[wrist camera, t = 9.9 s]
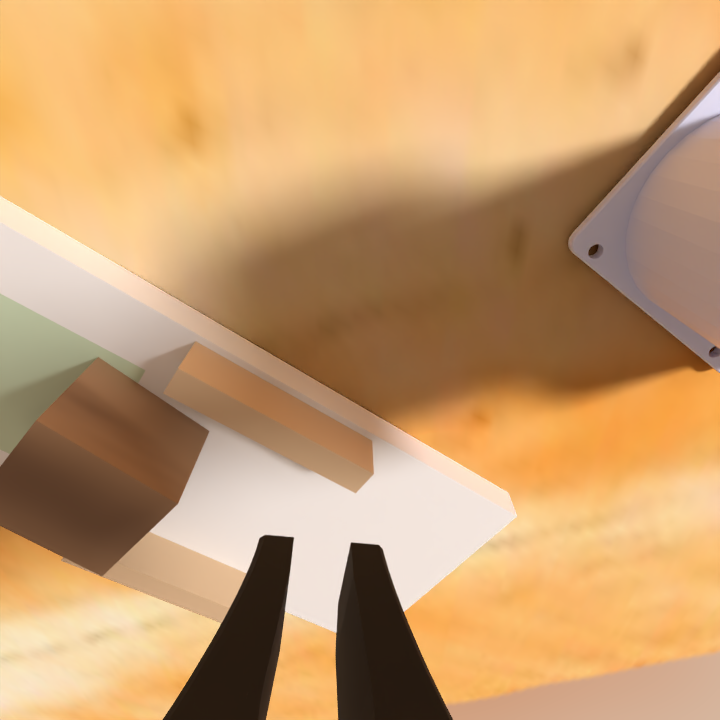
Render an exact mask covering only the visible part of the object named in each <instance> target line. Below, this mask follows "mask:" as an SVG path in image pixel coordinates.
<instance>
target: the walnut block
mask: <svg viewBox="0 0 720 720" xmlns="http://www.w3.org/2000/svg"><path fill="white" fill-rule="evenodd" d="M208 434H209V430H207V429H206V428H204V427H203V426H201V425H200V424H198V423H197V422H195V421H194V420H192V419H191V418H189V417H188V416H186V415H185V414H183V413H182V412H180V411H179V410H177V409H176V408H174V407H173V406H171V405H170V404H168V403H167V402H165V401H164V400H162V399H161V398H159V397H158V396H156V395H155V394H153V393H152V392H150V391H149V390H147V389H146V388H144V387H143V386H141V385H140V384H138V383H137V382H135V381H134V380H132V379H131V378H129V377H128V376H126V375H125V374H123V373H122V372H120V371H119V370H117V369H116V368H114V367H113V366H111V365H110V364H108V363H107V362H105V361H104V360H102V359H101V358H99V357H98V358H97V359H96V360H95V361H94V362H93V363H92V364H91V365H90V366H89V367H88V368H87V369H86V370H85V371H84V372H83V373H82V374H81V375H80V376H79V377H78V378H77V379H76V380H75V381H74V382H73V383H72V384H71V385H70V386H69V387H68V388H67V389H66V390H65V391H64V392H63V393H62V394H61V395H60V396H59V397H58V398H57V399H56V400H55V401H54V402H53V404H52V405H51V406H50V407H49V408H48V409H47V410H46V411H45V412H44V413H43V414H42V415H41V416H40V417H39V418H38V419H37V420H36V421H35V422H34V424H33V425H32V426H31V427H30V429H29V430H28V431H27V433H26V434H25V435H24V436H23V438H22V439H21V440H20V442H19V443H18V444H17V445H16V447H15V448H14V449H13V451H12V452H11V453H10V455H9V456H8V457H7V458H6V460H5V461H4V462H3V464H2V465H1V466H0V526H2V527H4V528H6V529H8V530H10V531H12V532H14V533H16V534H18V535H20V536H22V537H24V538H26V539H28V540H30V541H32V542H34V543H36V544H38V545H40V546H42V547H44V548H46V549H48V550H50V551H52V552H54V553H56V554H58V555H60V556H62V557H64V558H66V559H68V560H70V561H72V562H74V563H76V564H78V565H80V566H82V567H84V568H86V569H88V570H90V571H92V572H94V573H96V574H98V575H100V576H103V575H104V574H105V573H106V572H107V571H108V570H109V569H111V568H112V567H113V566H114V565H115V564H116V563H117V562H118V561H119V560H120V559H121V558H122V557H123V556H124V555H125V554H126V553H127V552H128V551H129V550H130V549H131V548H133V547H134V546H135V545H136V544H137V543H138V542H139V541H140V540H141V539H142V538H143V537H144V536H145V535H146V534H147V533H148V532H149V531H150V530H151V529H152V528H153V527H155V526H156V525H157V524H158V523H159V522H160V521H161V520H162V519H163V518H164V517H165V516H166V515H167V514H168V513H169V512H170V511H171V510H172V509H173V508H174V507H175V506H176V505H178V503H179V501H180V498H181V496H182V494H183V491H184V489H185V487H186V484H187V482H188V480H189V478H190V475H191V473H192V471H193V468H194V466H195V464H196V461H197V459H198V457H199V454H200V452H201V450H202V448H203V445H204V443H205V441H206V438H207V436H208Z"/></svg>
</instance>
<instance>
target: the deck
mask: <svg viewBox="0 0 720 720" xmlns="http://www.w3.org/2000/svg"><path fill="white" fill-rule="evenodd" d="M98 357H99V358H101V359H102V360H104V361H105V362H107V363H108V364H110V365H111V366H113V367H114V368H116V369H117V370H119V371H120V372H122V373H123V374H125V375H126V376H128V377H129V378H131V379H132V380H134V381H135V382H137V383H138V384H140V385H141V386H143V387H144V388H146V389H147V390H149V391H150V392H152V393H153V394H155V395H156V396H158V397H159V398H161V399H162V400H164V401H165V402H167V403H168V404H170V405H171V406H173V407H174V408H176V409H177V410H179V411H180V412H182V413H183V414H185V415H186V416H188V417H189V418H191V419H192V420H194V421H195V422H197V423H198V424H200V425H201V426H203V427H204V428H206V429H207V430H209V434H208V436H207V438H206V441H205V443H204V445H203V448H202V450H201V452H200V454H199V457H198V459H197V461H196V464H195V466H194V468H193V471H192V473H191V475H190V478H189V480H188V482H187V484H186V487H185V489H184V491H183V494H182V496H181V498H180V501H179V503H178V505H176V506H175V507H174V508H173V509H172V510H171V511H170V512H169V513H168V514H167V515H166V516H165V517H164V518H163V519H162V520H161V521H160V522H159V523H158V524H157V525H156V526H155V527H153V528H152V529H151V530H150V531H149V532H148V533H147V534H146V535H145V536H144V537H143V538H142V539H141V540H140V541H139V542H138V543H137V544H136V545H135V546H134V547H133V548H131V549H130V550H129V551H128V552H127V553H126V554H125V555H124V556H123V557H122V558H121V559H120V560H119V561H118V562H117V563H116V564H115V565H114V566H113V567H112V568H111V569H109V570H108V571H107V572H106V573H105V574H104V575H103V576H102V577H104V578H107V579H109V580H112V581H115V582H117V583H120V584H122V585H125V586H127V587H130V588H133V589H135V590H138V591H140V592H143V593H145V594H148V595H151V596H153V597H156V598H158V599H161V600H163V601H166V602H169V603H171V604H174V605H176V606H179V607H181V608H184V609H187V610H189V611H192V612H194V613H197V614H199V615H202V616H205V617H207V618H210V619H212V620H215V621H217V622H220V623H222V622H223V620H224V618H225V616H226V614H227V612H228V610H229V608H230V606H231V605H232V603H233V601H234V599H235V597H236V595H237V593H238V591H239V589H240V586H241V584H242V582H243V580H244V578H245V576H246V573H247V571H248V569H249V567H250V564H251V562H252V559H253V556H254V554H255V551H256V548H257V545H258V541H259V538H260V537H262V536H264V535H275V536H286V537H294V542H293V551H292V560H291V569H290V576H289V584H288V592H287V599H286V607H285V612H287V613H290V614H292V615H294V616H297V617H299V618H302V619H304V620H307V621H309V622H311V623H314V624H316V625H319V626H321V627H323V628H326V629H328V630H331V631H333V632H336V633H337V613H338V601H339V596H340V591H341V587H342V582H343V577H344V572H345V568H346V563H347V558H348V554H349V549H350V544H351V542H353V543H365V544H376V545H380V547H381V548H382V549H383V552H384V555H385V559H386V562H387V566H388V569H389V572H390V575H391V578H392V581H393V584H394V587H395V590H396V593H397V595H398V598H399V601H400V603H401V606H402V609H403V611H406V610H407V609H408V608H409V607H410V606H411V605H413V604H414V603H415V602H416V601H417V600H419V599H420V598H421V597H422V596H423V595H424V594H426V593H427V592H428V591H429V590H430V589H432V588H433V587H434V586H435V585H436V584H438V583H439V582H440V581H441V580H442V579H443V578H445V577H446V576H447V575H448V574H449V573H451V572H452V571H453V570H454V569H455V568H457V567H458V566H459V565H460V564H461V563H462V562H464V561H465V560H466V559H467V558H468V557H470V556H471V555H472V554H473V553H474V552H475V551H477V550H478V549H479V548H480V547H481V546H483V545H484V544H485V543H486V542H487V541H489V540H490V539H491V538H492V537H493V536H494V535H496V534H497V533H498V532H499V531H500V530H502V529H503V528H504V527H505V526H506V525H508V524H509V523H510V522H511V521H512V520H513V519H515V518H516V517H517V514H516V511H515V509H514V506H513V503H512V501H511V498H510V496H509V493H508V492H507V491H505V490H503V489H501V488H500V487H498V486H496V485H495V484H493V483H491V482H489V481H488V480H486V479H484V478H483V477H481V476H479V475H477V474H476V473H474V472H472V471H471V470H469V469H467V468H465V467H464V466H462V465H460V464H459V463H457V462H455V461H453V460H452V459H450V458H448V457H447V456H445V455H443V454H441V453H440V452H438V451H436V450H435V449H433V448H431V447H429V446H428V445H426V444H424V443H423V442H421V441H419V440H417V439H416V438H414V437H412V436H411V435H409V434H407V433H405V432H404V431H402V430H400V429H399V428H397V427H395V426H393V425H392V424H390V423H388V422H387V421H385V420H383V419H382V418H380V417H378V416H376V415H375V414H373V413H371V412H370V411H368V410H366V409H364V408H363V407H361V406H359V405H358V404H356V403H354V402H352V401H351V400H349V399H347V398H346V397H344V396H342V395H340V394H339V393H337V392H335V391H334V390H332V389H330V388H328V387H327V386H325V385H323V384H322V383H320V382H318V381H316V380H315V379H313V378H311V377H310V376H308V375H306V374H304V373H303V372H301V371H299V370H298V369H296V368H294V367H292V366H291V365H289V364H287V363H286V362H284V361H282V360H280V359H279V358H277V357H275V356H274V355H272V354H270V353H268V352H267V351H265V350H263V349H262V348H260V347H258V346H256V345H255V344H253V343H251V342H250V341H248V340H246V339H244V338H243V337H241V336H239V335H238V334H236V333H234V332H232V331H231V330H229V329H227V328H226V327H224V326H222V325H221V324H219V323H217V322H215V321H214V320H212V319H210V318H209V317H207V316H205V315H203V314H202V313H200V312H198V311H197V310H195V309H193V308H191V307H190V306H188V305H186V304H185V303H183V302H181V301H179V300H178V299H176V298H174V297H173V296H171V295H169V294H167V293H166V292H164V291H162V290H161V289H159V288H157V287H155V286H154V285H152V284H150V283H149V282H147V281H145V280H143V279H142V278H140V277H138V276H137V275H135V274H133V273H131V272H130V271H128V270H126V269H125V268H123V267H121V266H119V265H118V264H116V263H114V262H113V261H111V260H109V259H107V258H106V257H104V256H102V255H101V254H99V253H97V252H95V251H94V250H92V249H90V248H89V247H87V246H85V245H83V244H82V243H80V242H78V241H77V240H75V239H73V238H71V237H70V236H68V235H66V234H65V233H63V232H61V231H59V230H58V229H56V228H54V227H53V226H51V225H49V224H48V223H46V222H44V221H42V220H41V219H39V218H37V217H36V216H34V215H32V214H30V213H29V212H27V211H25V210H24V209H22V208H20V207H18V206H17V205H15V204H13V203H12V202H10V201H8V200H6V199H5V198H3V197H1V196H0V466H1V465H2V464H3V462H4V461H5V460H6V458H7V457H8V456H9V455H10V453H11V452H12V451H13V449H14V448H15V447H16V445H17V444H18V443H19V442H20V440H21V439H22V438H23V436H24V435H25V434H26V433H27V431H28V430H29V429H30V427H31V426H32V425H33V424H34V422H35V421H36V420H37V419H38V418H39V417H40V416H41V415H42V414H43V413H44V412H45V411H46V410H47V409H48V408H49V407H50V406H51V405H52V404H53V402H54V401H55V400H56V399H57V398H58V397H59V396H60V395H61V394H62V393H63V392H64V391H65V390H66V389H67V388H68V387H69V386H70V385H71V384H72V383H73V382H74V381H75V380H76V379H77V378H78V377H79V376H80V375H81V374H82V373H83V372H84V371H85V370H86V369H87V368H88V367H89V366H90V365H91V364H92V363H93V362H94V361H95V360H96V359H97V358H98ZM61 561H63V562H66V563H68V564H71V565H73V566H76V567H79V568H81V569H84V570H86V571H89V572H91V573H94V572H92V571H90V570H88V569H86V568H84V567H82V566H80V565H78V564H76V563H74V562H72V561H70V560H68V559H66V558H64V557H63V559H62V560H61ZM94 574H96V573H94ZM97 575H98V574H97ZM99 576H100V575H99Z"/></svg>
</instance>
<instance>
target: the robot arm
mask: <svg viewBox="0 0 720 720" xmlns="http://www.w3.org/2000/svg"><path fill="white" fill-rule="evenodd" d="M596 244H598V245H599V246H598V250H597V252H596V253H595V254H593V255H590V256H589V255H588V251H589V249H590V248H591V247H592V246H593V245H596ZM568 246H569V249H570V251H571V252H572V253H573V254H575V255H576V256H577V257H578V258H579V259H581V260H582V261H583V262H584V263H586V264H587V265H588V266H589V267H590V268H592V269H593V270H594V271H595V272H597V273H598V274H599V275H600V276H601V277H603V278H604V279H605V280H606V281H608V282H609V283H610V284H611V285H612V286H614V287H615V288H616V289H617V290H619V291H620V292H621V293H622V294H623V295H625V296H626V297H627V298H628V299H629V300H631V301H632V302H633V303H634V304H636V305H637V306H638V307H639V308H640V309H642V310H643V311H644V312H645V313H647V314H648V315H649V316H650V317H651V318H653V319H654V320H655V321H656V322H658V323H659V324H660V325H661V326H662V327H664V328H665V329H666V330H667V331H669V332H670V333H671V334H672V335H673V336H675V337H676V338H677V339H678V340H680V341H681V342H682V343H683V344H684V345H686V346H687V347H688V348H689V349H691V350H692V351H693V352H694V353H695V354H697V355H698V356H699V357H700V358H702V359H703V360H704V361H705V362H706V363H708V364H709V365H710V366H711V367H712V368H714V369H715V370H716V371H718V372H719V373H720V72H719V73H718V74H717V75H716V76H715V77H714V78H713V79H712V80H711V82H710V83H709V84H708V85H707V86H706V87H705V88H704V89H703V90H702V91H701V92H700V94H699V95H698V96H697V97H696V98H695V99H694V100H693V101H692V102H691V103H690V105H689V106H688V107H687V108H686V109H685V110H684V111H683V112H682V113H681V114H680V116H679V117H678V118H677V119H676V120H675V121H674V122H673V123H672V124H671V125H670V126H669V128H668V129H667V130H666V131H665V132H664V133H663V134H662V135H661V136H660V137H659V139H658V140H657V141H656V142H655V143H654V144H653V145H652V146H651V147H650V148H649V150H648V151H647V152H646V153H645V154H644V155H643V156H642V157H641V158H640V159H639V160H638V162H637V163H636V164H635V165H634V166H633V167H632V168H631V169H630V170H629V171H628V173H627V174H626V175H625V176H624V177H623V178H622V179H621V180H620V181H619V182H618V184H617V185H616V186H615V187H614V188H613V189H612V190H611V191H610V192H609V193H608V194H607V196H606V197H605V198H604V199H603V200H602V201H601V202H600V203H599V204H598V205H597V207H596V208H595V209H594V210H593V211H592V212H591V213H590V214H589V215H588V216H587V218H586V219H585V220H584V221H583V222H582V223H581V224H580V225H579V226H578V227H577V228H576V230H575V231H574V232H573V233H572V234H571V236H570V237H569V241H568ZM715 346H716V348H715V349H714V350H713V351H712V352H710V353H709V351H710V350H711V348H713V347H715ZM293 542H294V537H286V536H275V535H264V536H262V537H260V538H259V541H258V545H257V548H256V551H255V554H254V556H253V559H252V562H251V564H250V567H249V569H248V571H247V573H246V576H245V578H244V580H243V582H242V584H241V586H240V589H239V591H238V593H237V595H236V597H235V599H234V601H233V603H232V605H231V606H230V608H229V610H228V612H227V614H226V616H225V618H224V620H223V622H222V623H221V625H220V627H219V629H218V631H217V633H216V635H215V636H214V638H213V640H212V642H211V643H210V645H209V647H208V648H207V650H206V652H205V653H204V655H203V657H202V658H201V660H200V662H199V663H198V665H197V667H196V668H195V670H194V672H193V673H192V675H191V677H190V678H189V680H188V682H187V683H186V685H185V686H184V688H183V689H182V691H181V693H180V694H179V696H178V697H177V699H176V700H175V702H174V703H173V705H172V707H171V708H170V710H169V711H168V713H167V714H166V716H165V717H164V719H163V720H266V716H267V711H268V706H269V701H270V696H271V691H272V686H273V681H274V676H275V671H276V667H277V662H278V657H279V652H280V644H281V637H282V629H283V622H284V614H285V607H286V599H287V592H288V584H289V576H290V569H291V560H292V551H293ZM336 677H337V700H338V720H453V719H452V717H451V715H450V713H449V711H448V709H447V707H446V705H445V703H444V701H443V699H442V697H441V695H440V693H439V691H438V689H437V687H436V685H435V683H434V680H433V678H432V676H431V674H430V672H429V670H428V668H427V666H426V663H425V661H424V659H423V657H422V655H421V652H420V650H419V647H418V645H417V643H416V640H415V638H414V636H413V633H412V631H411V629H410V626H409V624H408V622H407V619H406V616H405V614H404V611H403V609H402V606H401V603H400V601H399V598H398V595H397V593H396V590H395V587H394V584H393V581H392V578H391V575H390V572H389V569H388V566H387V562H386V559H385V555H384V552H383V549H382V548H381V547H380V545H376V544H365V543H353V542H351V544H350V549H349V554H348V558H347V563H346V568H345V572H344V577H343V582H342V587H341V591H340V596H339V601H338V613H337V633H336Z"/></svg>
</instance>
